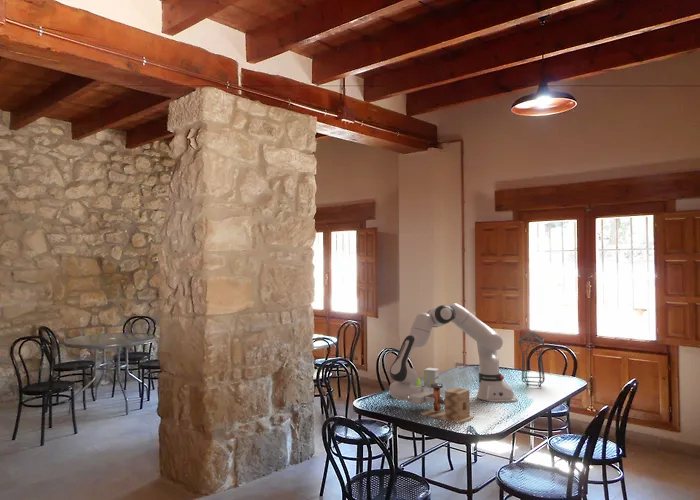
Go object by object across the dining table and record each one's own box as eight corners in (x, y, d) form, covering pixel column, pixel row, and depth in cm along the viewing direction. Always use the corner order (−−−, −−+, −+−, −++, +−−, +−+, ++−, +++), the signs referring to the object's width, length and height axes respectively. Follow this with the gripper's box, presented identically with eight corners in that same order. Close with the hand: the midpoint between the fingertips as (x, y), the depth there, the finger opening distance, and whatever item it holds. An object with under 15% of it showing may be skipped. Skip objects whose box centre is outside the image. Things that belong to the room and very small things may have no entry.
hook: (428, 410, 262) (428, 384, 262) (435, 408, 266) (434, 382, 267) (459, 417, 250) (459, 390, 250) (465, 414, 254) (465, 388, 255)
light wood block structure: (420, 414, 262) (420, 387, 262) (433, 409, 271) (433, 383, 271) (462, 424, 246) (461, 394, 246) (474, 418, 255) (474, 390, 255)
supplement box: (434, 391, 311) (434, 370, 311) (423, 389, 315) (423, 369, 315) (439, 388, 317) (439, 368, 318) (428, 387, 321) (428, 367, 322)
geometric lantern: (546, 390, 313) (544, 333, 314) (519, 389, 318) (517, 332, 319) (546, 384, 327) (544, 330, 328) (521, 383, 333) (518, 329, 334)
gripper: (404, 392, 264) (426, 396, 254) (426, 385, 279) (448, 389, 269) (404, 404, 263) (427, 409, 254) (426, 396, 278) (448, 401, 269)
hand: (438, 398), depth 262 cm, fingers open, 5 cm apart
